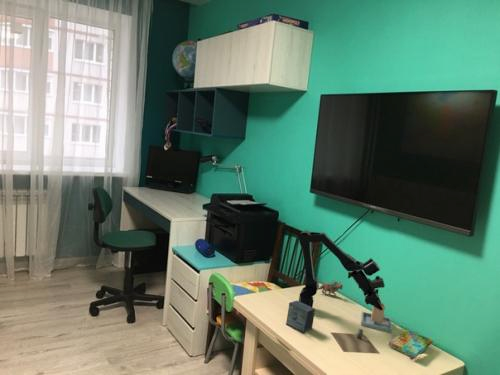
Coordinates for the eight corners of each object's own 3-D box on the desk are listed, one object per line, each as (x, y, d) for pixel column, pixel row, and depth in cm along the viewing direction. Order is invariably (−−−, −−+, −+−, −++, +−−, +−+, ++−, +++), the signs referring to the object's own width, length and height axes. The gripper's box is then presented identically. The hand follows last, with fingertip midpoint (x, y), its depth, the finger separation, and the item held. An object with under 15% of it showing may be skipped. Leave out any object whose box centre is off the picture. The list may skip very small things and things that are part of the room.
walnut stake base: (343, 353, 166) (345, 342, 166) (329, 334, 182) (331, 323, 181) (379, 355, 169) (381, 344, 168) (363, 336, 184) (365, 325, 184)
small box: (312, 330, 184) (316, 308, 182) (304, 334, 179) (307, 311, 177) (293, 321, 191) (297, 299, 189) (285, 324, 186) (288, 302, 184)
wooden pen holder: (371, 320, 196) (374, 305, 195) (371, 316, 201) (374, 301, 200) (385, 324, 195) (388, 308, 194) (385, 320, 199) (388, 304, 198)
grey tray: (360, 327, 194) (361, 322, 193) (361, 316, 207) (362, 311, 207) (391, 335, 190) (392, 330, 189) (390, 323, 203) (390, 318, 203)
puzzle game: (389, 339, 175) (407, 327, 190) (387, 349, 176) (405, 337, 190) (416, 351, 167) (433, 338, 182) (414, 362, 168) (431, 348, 183)
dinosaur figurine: (341, 295, 232) (343, 280, 230) (340, 299, 226) (343, 283, 225) (317, 290, 235) (319, 274, 234) (315, 293, 229) (318, 278, 228)
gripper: (376, 277, 187) (397, 306, 186) (376, 266, 205) (395, 293, 204) (356, 290, 190) (376, 318, 189) (357, 278, 208) (376, 304, 207)
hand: (381, 307), depth 197 cm, fingers closed on wooden pen holder, 5 cm apart
